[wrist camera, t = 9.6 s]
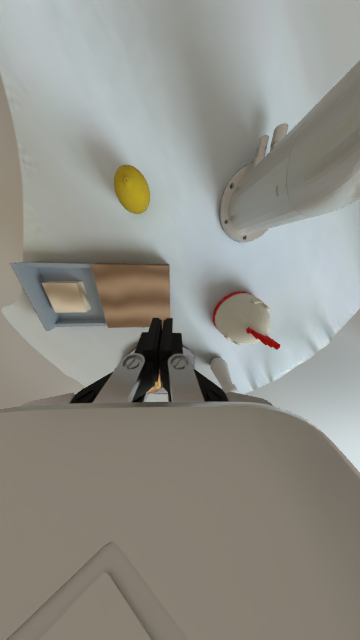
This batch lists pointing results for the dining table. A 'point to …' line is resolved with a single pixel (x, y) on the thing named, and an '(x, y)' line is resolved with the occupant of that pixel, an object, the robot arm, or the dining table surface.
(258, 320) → the kitchen timer
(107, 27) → the dining table surface
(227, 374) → the salt shaker
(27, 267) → the box
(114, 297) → the wooden square board
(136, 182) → the lemon
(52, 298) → the tile
